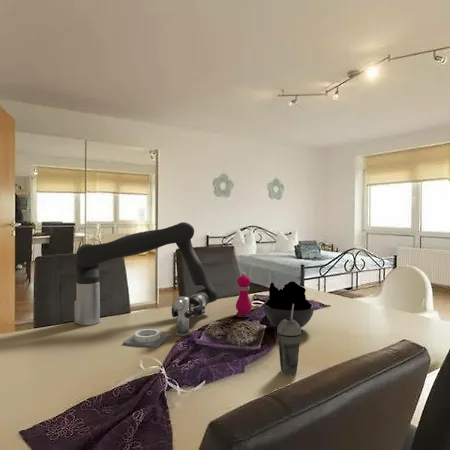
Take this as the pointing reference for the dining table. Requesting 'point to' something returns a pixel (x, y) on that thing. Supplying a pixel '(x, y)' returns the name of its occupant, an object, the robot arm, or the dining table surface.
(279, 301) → the bowl of black rocks
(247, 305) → the pepper mill
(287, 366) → the beverage cup
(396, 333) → the dining table surface
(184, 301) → the duct elbow
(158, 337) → the plate
